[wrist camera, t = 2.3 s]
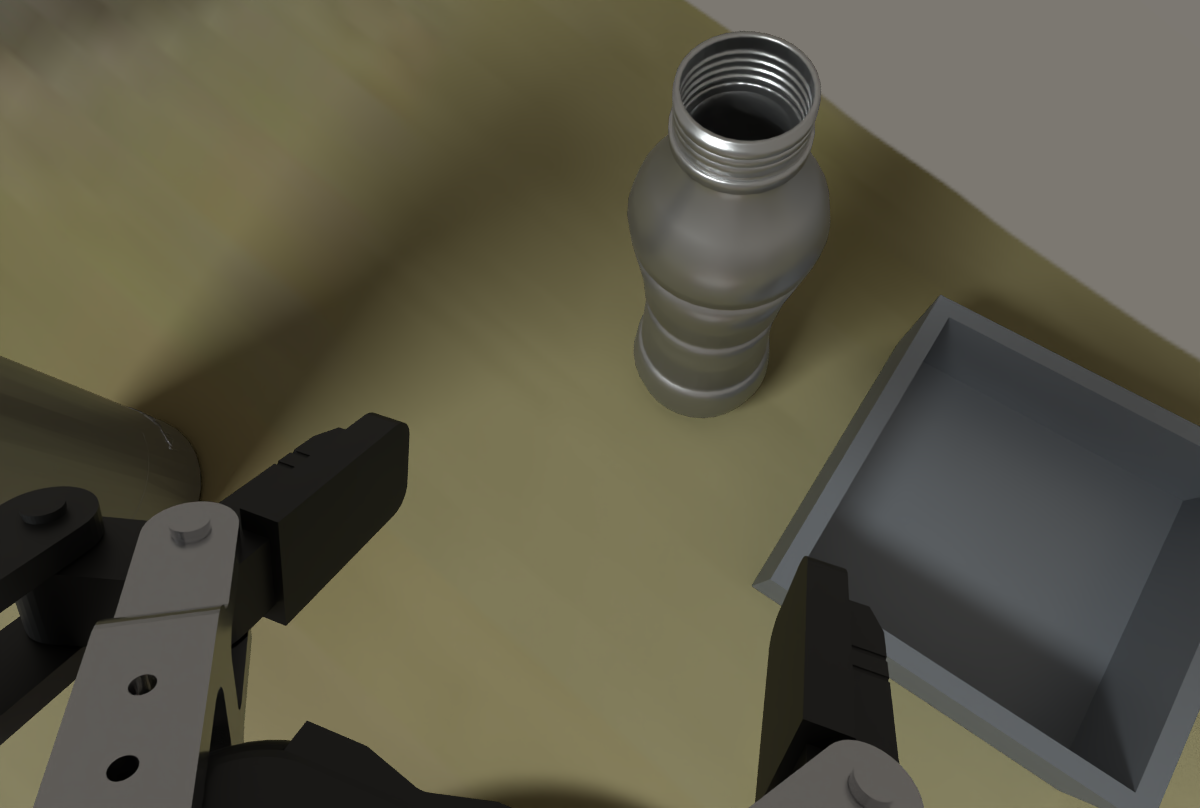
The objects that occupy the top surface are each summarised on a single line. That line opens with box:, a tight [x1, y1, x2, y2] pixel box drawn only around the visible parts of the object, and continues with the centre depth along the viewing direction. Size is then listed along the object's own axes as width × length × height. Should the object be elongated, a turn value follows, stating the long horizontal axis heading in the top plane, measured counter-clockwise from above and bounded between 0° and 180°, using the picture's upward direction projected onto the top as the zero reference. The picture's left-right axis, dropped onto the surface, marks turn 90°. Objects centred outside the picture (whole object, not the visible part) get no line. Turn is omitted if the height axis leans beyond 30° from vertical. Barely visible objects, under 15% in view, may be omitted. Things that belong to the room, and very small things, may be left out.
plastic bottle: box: [627, 31, 830, 418], centre depth 26 cm, size 6×7×20 cm
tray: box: [752, 295, 1200, 808], centre depth 29 cm, size 15×15×6 cm
